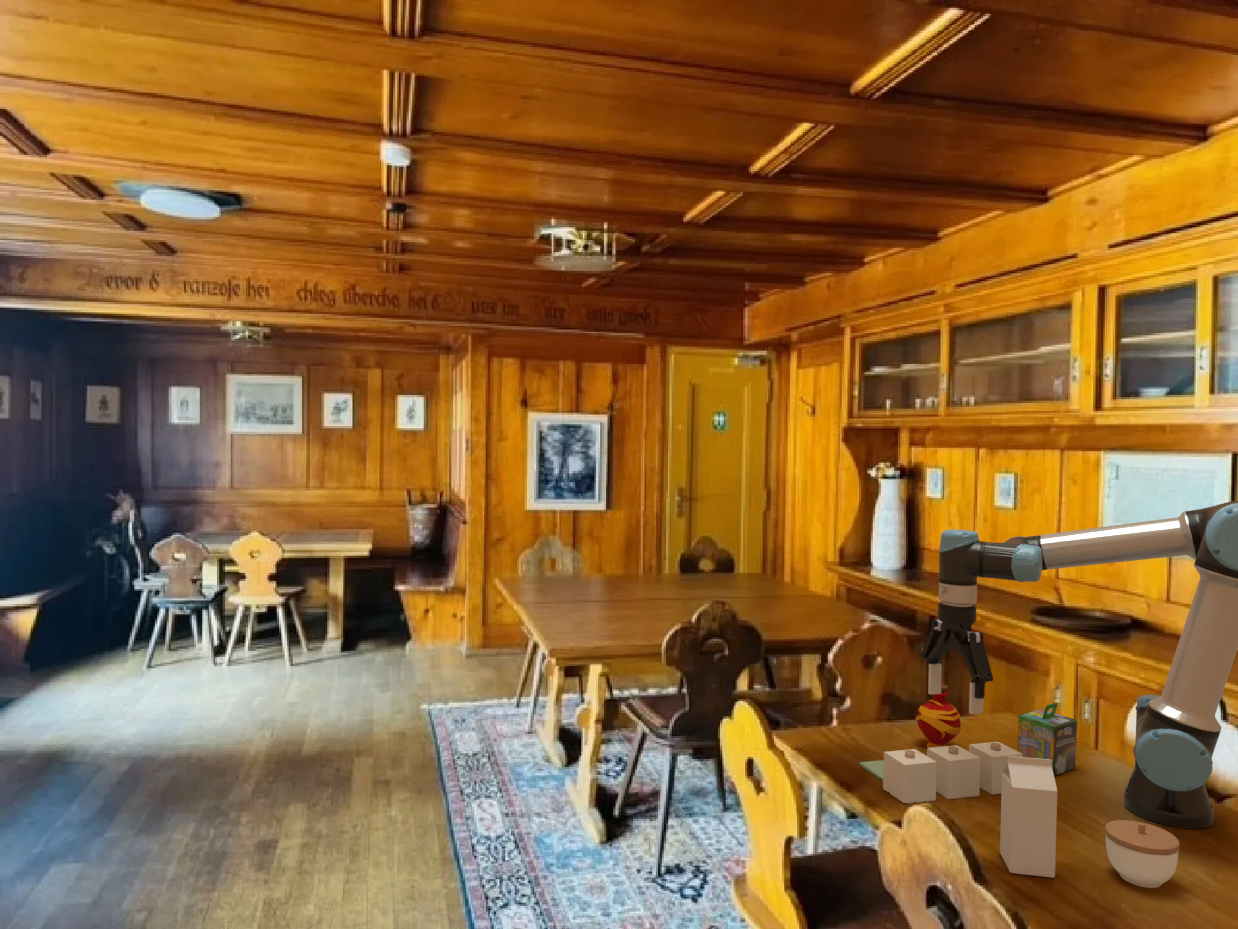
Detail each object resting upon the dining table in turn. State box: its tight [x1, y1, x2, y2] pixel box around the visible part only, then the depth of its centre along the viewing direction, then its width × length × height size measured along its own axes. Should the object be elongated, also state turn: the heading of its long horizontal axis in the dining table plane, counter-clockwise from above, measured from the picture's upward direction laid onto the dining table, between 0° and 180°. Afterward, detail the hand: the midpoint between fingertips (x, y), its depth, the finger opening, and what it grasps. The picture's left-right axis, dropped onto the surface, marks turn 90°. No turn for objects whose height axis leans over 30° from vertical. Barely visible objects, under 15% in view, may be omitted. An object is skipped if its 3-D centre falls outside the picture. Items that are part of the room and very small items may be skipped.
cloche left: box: [882, 748, 937, 804], centre depth 175 cm, size 8×8×9 cm
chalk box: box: [1017, 702, 1078, 777], centre depth 192 cm, size 9×9×15 cm
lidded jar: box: [1104, 819, 1181, 889], centre depth 142 cm, size 11×11×9 cm
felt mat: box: [859, 759, 884, 782], centre depth 188 cm, size 12×24×1 cm, turn 105°
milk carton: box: [999, 756, 1058, 878], centre depth 145 cm, size 7×7×19 cm
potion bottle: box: [915, 683, 962, 748], centre depth 203 cm, size 10×10×15 cm
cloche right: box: [968, 741, 1023, 795], centre depth 180 cm, size 8×8×9 cm
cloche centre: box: [926, 745, 981, 800], centre depth 177 cm, size 8×8×9 cm
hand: (954, 703), depth 177 cm, fingers open, 13 cm apart
